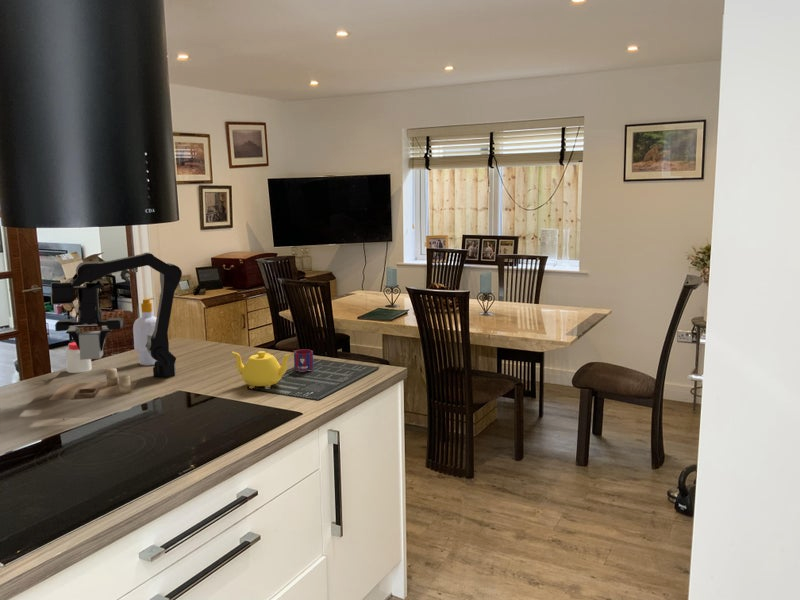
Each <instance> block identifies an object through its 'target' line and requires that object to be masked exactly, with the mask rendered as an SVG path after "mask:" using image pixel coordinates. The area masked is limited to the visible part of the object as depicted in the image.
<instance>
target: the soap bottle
mask: <svg viewBox="0 0 800 600" xmlns="http://www.w3.org/2000/svg"><path fill="white" fill-rule="evenodd" d="M154 299H155V297H150V298H143V299H142V303H140V307H141V316H140V317H138V318H137V319H135V320H134V323H133V324H132V325H133V327H132V332H133V333H132V334H133V347H134V351H135V352H138V361H139V364H140V365H141V366H145V367H147V366H148V367H149V366H155V362H156V360H155V359H153V358H152V356H151V355H150V354H149V353H148V351H147V348H146V347H145V346H146V344H147V335H150V336H152V334H153V332H154V330H155V324H156V318H157V316H153V306H152V305H153V303H152V302H151V300H152V301H153V300H154Z"/></svg>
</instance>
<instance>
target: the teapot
mask: <svg viewBox="0 0 800 600" xmlns="http://www.w3.org/2000/svg"><path fill="white" fill-rule="evenodd" d="M231 353H232V354H233V355H234V356H235V358H236V369H237V372H238V373H239V374H240V375H241V378H242V379H241V380H243V381H244V383H245V384H247V385H248V387H249V388H253V387H255V386H256V387H264V388H265V387H270V386H272V385H276V384H278V383H279V382H280V380H281V379H282V377H283V376H284V375H285V373H286V372H287V369H288V358H289V356H290V355H292V352H290V353H286V354H285V355H283V357H282V364H281V365H280V363H279V362H278V360H277V358H276V357H275V356H274V355H273V354H270V353H269V352H266V351H264V350H261V351H257V354H253V355H251V356H249V357H248V359H247V361H246V362H245V364H244V363H243V362H242V357H241V355H240V353H238V352H236V351H231ZM256 387H255V388H256Z"/></svg>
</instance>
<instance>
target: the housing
mask: <svg viewBox="0 0 800 600" xmlns="http://www.w3.org/2000/svg"><path fill="white" fill-rule="evenodd" d="M100 331H101V330H91V331H90V330H89V331H88V330H87V331H86V330H85V331H82V332H80V335H79V346H80V360H83V359H91V360H100V359H102V357H103V356H104V349H103V350H102V351H101V348H100Z"/></svg>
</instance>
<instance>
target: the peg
mask: <svg viewBox="0 0 800 600" xmlns="http://www.w3.org/2000/svg"><path fill="white" fill-rule="evenodd" d="M105 377H106V378H105V379H106V382H107V386H115V385H117V384H118V381H119V379H118V369H117V368H115V367H112V368H111V367H110V368H106V369H105Z"/></svg>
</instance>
